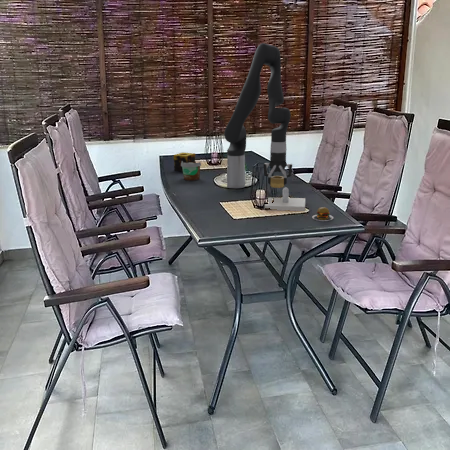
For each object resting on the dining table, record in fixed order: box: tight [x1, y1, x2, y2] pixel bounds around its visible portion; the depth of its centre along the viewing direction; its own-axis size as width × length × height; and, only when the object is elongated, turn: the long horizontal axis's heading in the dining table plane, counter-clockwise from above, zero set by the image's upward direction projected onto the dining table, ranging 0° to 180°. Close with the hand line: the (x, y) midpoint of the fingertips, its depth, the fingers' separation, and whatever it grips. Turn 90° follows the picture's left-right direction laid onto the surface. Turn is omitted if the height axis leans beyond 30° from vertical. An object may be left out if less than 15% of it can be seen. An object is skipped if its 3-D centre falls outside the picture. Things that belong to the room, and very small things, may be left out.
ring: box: [270, 175, 285, 189], centre depth 246 cm, size 6×6×4 cm
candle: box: [173, 152, 197, 172], centre depth 313 cm, size 10×10×10 cm
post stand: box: [264, 186, 306, 212], centre depth 232 cm, size 18×14×9 cm
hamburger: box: [311, 206, 334, 222], centre depth 214 cm, size 12×12×6 cm
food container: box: [181, 161, 202, 182], centre depth 287 cm, size 12×6×10 cm, turn 68°
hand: (277, 184), depth 246 cm, fingers closed on ring, 6 cm apart
